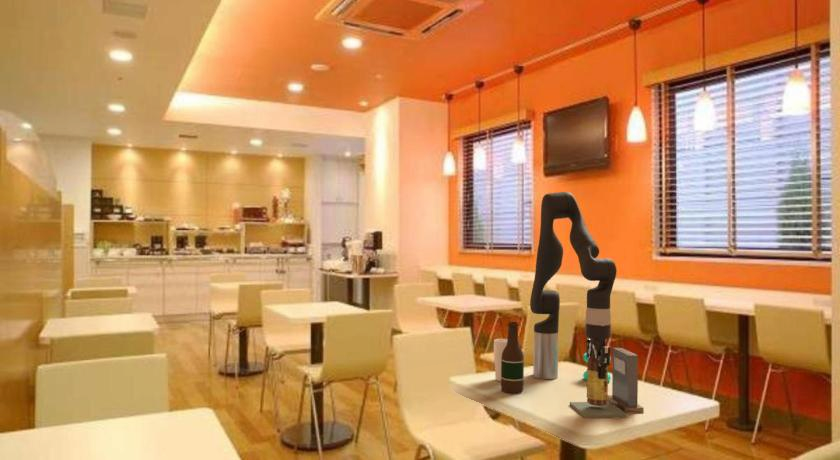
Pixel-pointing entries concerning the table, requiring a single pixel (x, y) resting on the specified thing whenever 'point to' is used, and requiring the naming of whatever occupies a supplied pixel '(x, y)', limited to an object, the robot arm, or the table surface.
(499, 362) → the drinking glass
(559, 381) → the table surface
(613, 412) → the mat
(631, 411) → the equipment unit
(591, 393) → the sauce bottle
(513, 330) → the beer bottle
